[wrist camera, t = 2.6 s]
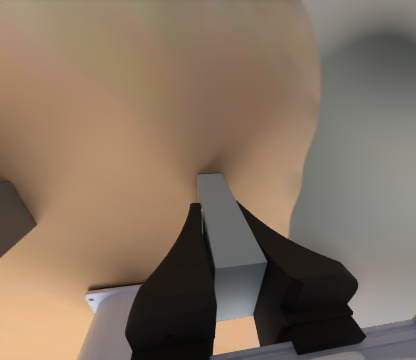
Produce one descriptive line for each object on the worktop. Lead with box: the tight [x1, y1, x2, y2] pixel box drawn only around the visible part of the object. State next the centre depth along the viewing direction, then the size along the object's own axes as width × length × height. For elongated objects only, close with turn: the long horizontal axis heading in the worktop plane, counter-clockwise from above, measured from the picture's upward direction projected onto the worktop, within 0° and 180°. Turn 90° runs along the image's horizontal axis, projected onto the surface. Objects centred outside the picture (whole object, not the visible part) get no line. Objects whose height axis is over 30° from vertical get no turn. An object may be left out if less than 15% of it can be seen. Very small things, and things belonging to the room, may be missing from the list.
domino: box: [197, 173, 267, 322], centre depth 11 cm, size 2×4×8 cm, turn 179°
